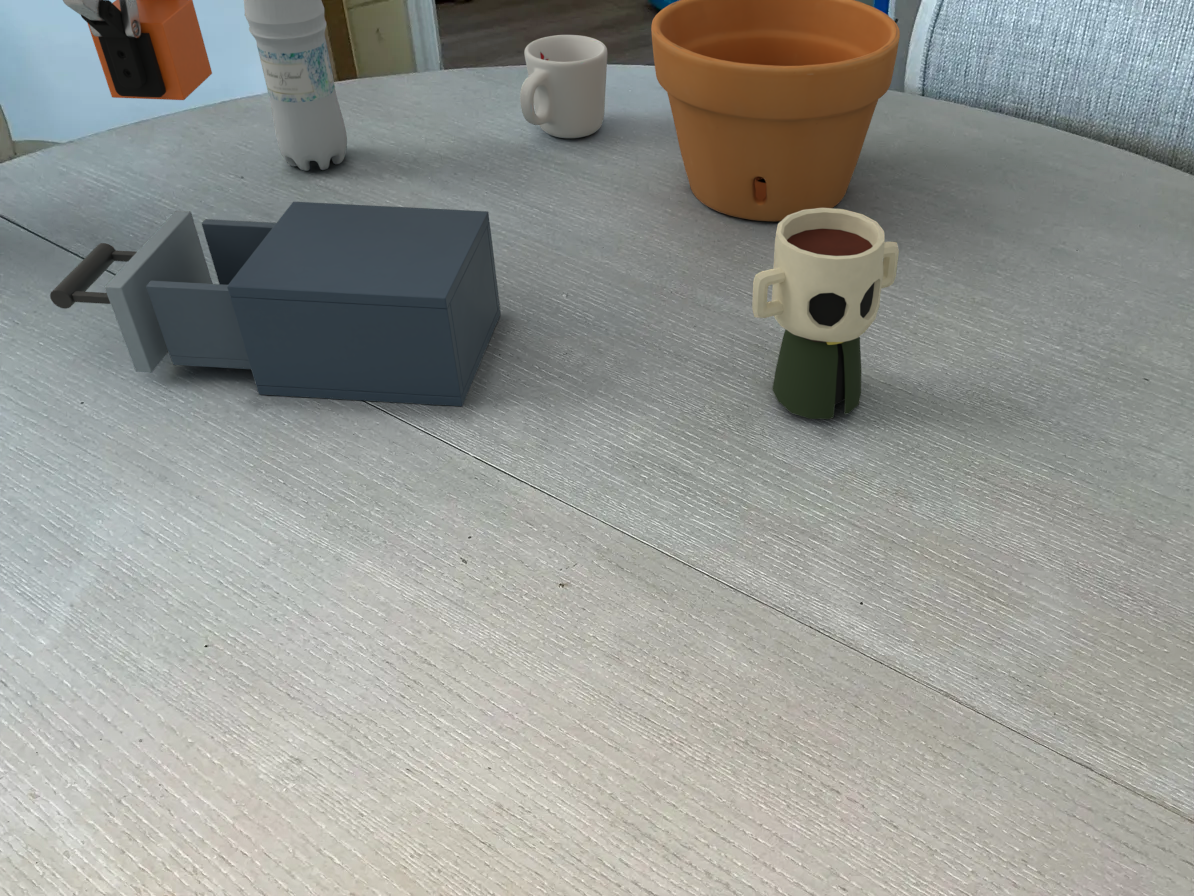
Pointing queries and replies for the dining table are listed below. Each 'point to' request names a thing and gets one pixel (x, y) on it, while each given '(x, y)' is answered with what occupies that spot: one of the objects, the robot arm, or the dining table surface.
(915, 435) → the dining table surface
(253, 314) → the drawer cabinet
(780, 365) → the character mug
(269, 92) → the bottle
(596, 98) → the cup
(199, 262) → the drawer
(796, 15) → the flower pot
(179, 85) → the block
